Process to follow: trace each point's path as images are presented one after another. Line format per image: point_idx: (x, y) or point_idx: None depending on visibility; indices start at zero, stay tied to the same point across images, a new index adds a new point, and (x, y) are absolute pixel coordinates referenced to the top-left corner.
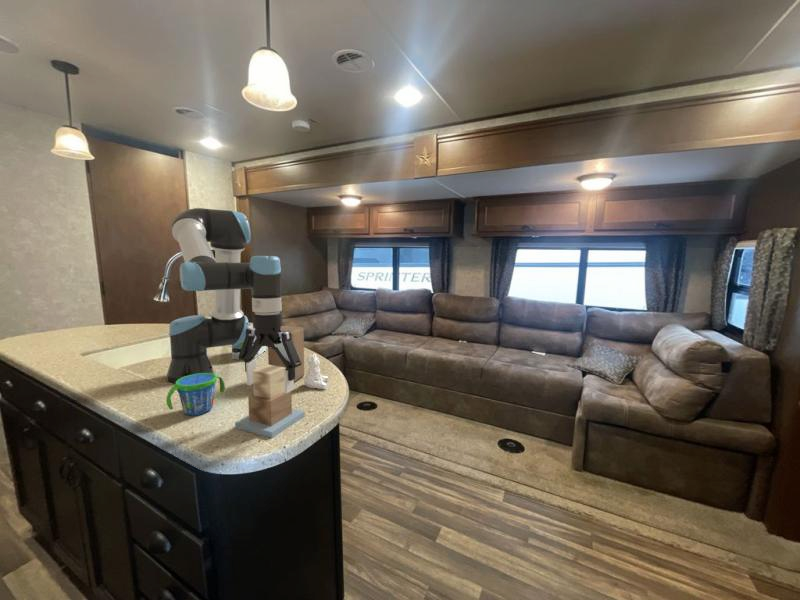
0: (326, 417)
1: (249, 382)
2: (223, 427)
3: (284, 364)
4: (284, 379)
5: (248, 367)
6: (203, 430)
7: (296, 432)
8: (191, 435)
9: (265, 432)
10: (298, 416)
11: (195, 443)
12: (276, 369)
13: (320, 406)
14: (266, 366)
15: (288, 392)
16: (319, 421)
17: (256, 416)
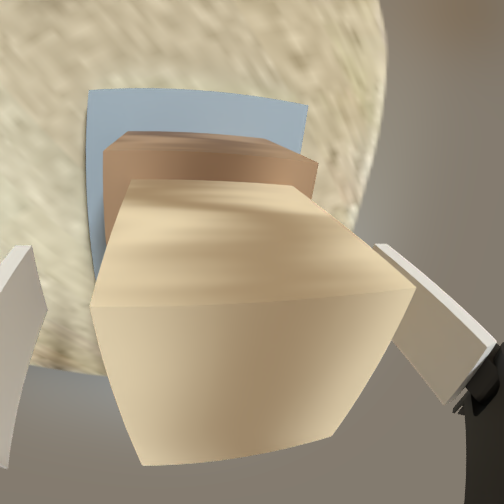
0: (376, 98)
1: (40, 318)
2: (65, 289)
3: (467, 428)
4: (403, 353)
5: (12, 428)
6: None
7: None
8: (42, 345)
9: None
10: (299, 145)
11: (90, 363)
12: (342, 375)
13: (316, 10)
14: (135, 375)
15: (310, 188)
16: (366, 131)
17: None
